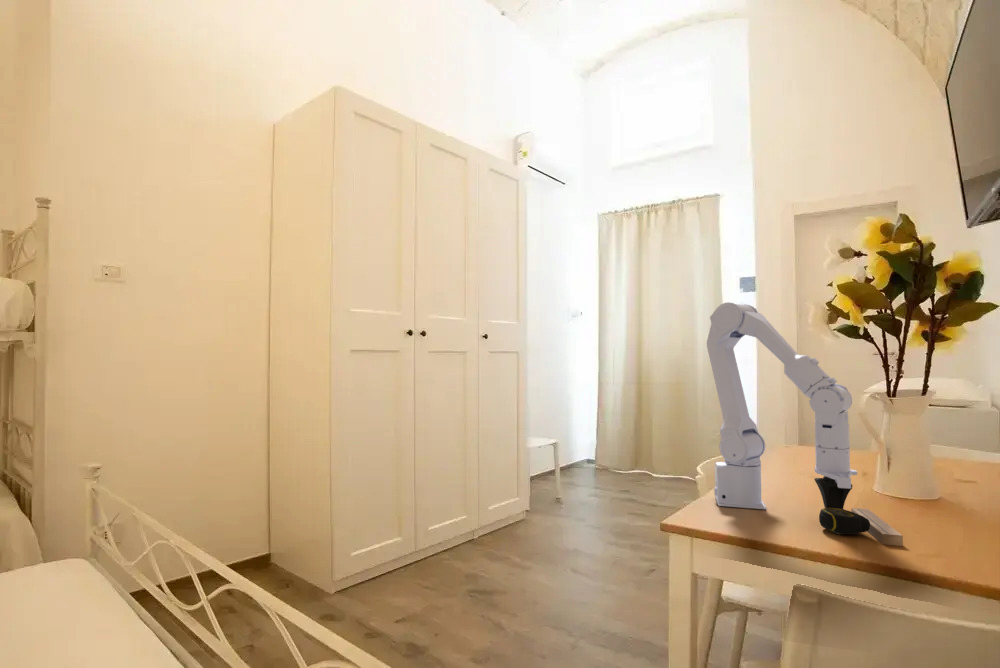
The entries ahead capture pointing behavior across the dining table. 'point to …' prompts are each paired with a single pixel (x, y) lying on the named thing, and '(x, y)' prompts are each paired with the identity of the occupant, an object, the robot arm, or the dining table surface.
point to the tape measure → (843, 521)
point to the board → (880, 528)
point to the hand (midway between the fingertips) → (833, 516)
